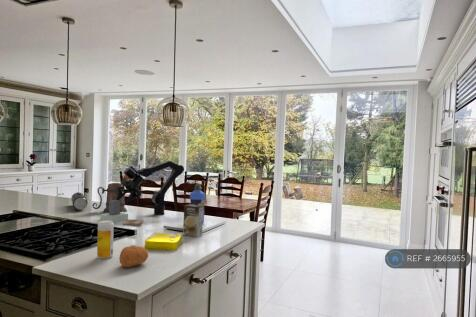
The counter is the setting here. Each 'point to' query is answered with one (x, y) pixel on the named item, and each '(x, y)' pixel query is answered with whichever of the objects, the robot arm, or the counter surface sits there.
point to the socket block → (114, 217)
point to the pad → (133, 222)
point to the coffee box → (193, 220)
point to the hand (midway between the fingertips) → (121, 201)
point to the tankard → (111, 197)
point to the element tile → (163, 241)
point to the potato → (133, 256)
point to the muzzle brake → (79, 201)
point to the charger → (114, 207)
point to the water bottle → (197, 197)
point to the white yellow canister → (105, 239)
